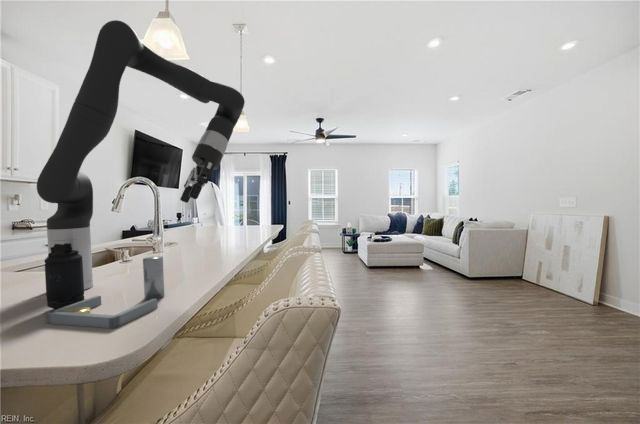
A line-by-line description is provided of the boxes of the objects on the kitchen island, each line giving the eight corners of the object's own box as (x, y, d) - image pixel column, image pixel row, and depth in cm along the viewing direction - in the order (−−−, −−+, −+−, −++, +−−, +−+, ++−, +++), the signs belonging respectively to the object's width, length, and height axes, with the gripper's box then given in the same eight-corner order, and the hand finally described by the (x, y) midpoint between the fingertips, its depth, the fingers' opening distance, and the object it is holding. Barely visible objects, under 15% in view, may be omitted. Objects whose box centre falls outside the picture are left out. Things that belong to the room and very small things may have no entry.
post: (140, 299, 74) (138, 259, 74) (153, 294, 78) (151, 256, 78) (155, 300, 73) (154, 259, 73) (168, 294, 77) (166, 256, 77)
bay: (45, 323, 60) (45, 313, 60) (97, 304, 71) (96, 295, 71) (114, 328, 57) (114, 318, 57) (157, 307, 68) (157, 298, 68)
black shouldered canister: (92, 303, 72) (88, 241, 71) (66, 314, 65) (62, 245, 65) (64, 303, 72) (61, 241, 72) (36, 313, 66) (32, 245, 65)
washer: (61, 321, 62) (60, 314, 62) (80, 313, 66) (79, 306, 65) (77, 322, 61) (77, 314, 61) (95, 314, 65) (95, 307, 65)
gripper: (191, 149, 91) (168, 197, 86) (206, 136, 80) (181, 190, 75) (214, 161, 95) (193, 208, 90) (231, 150, 84) (209, 202, 79)
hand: (187, 199), depth 83 cm, fingers open, 8 cm apart
